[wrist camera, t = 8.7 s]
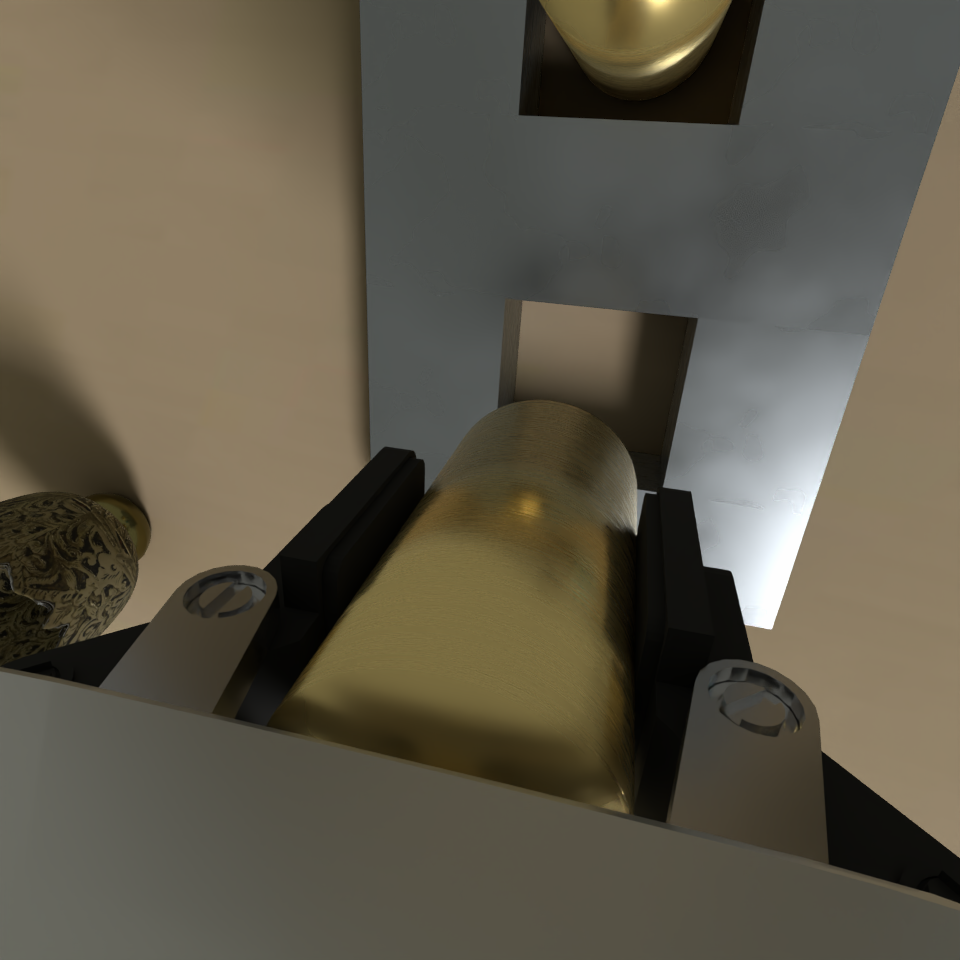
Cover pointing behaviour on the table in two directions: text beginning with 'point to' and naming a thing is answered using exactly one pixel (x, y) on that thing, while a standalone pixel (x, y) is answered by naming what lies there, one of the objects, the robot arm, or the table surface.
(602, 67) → the seated bushing
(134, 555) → the cup
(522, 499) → the brass cylinder
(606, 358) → the table surface
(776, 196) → the jig
